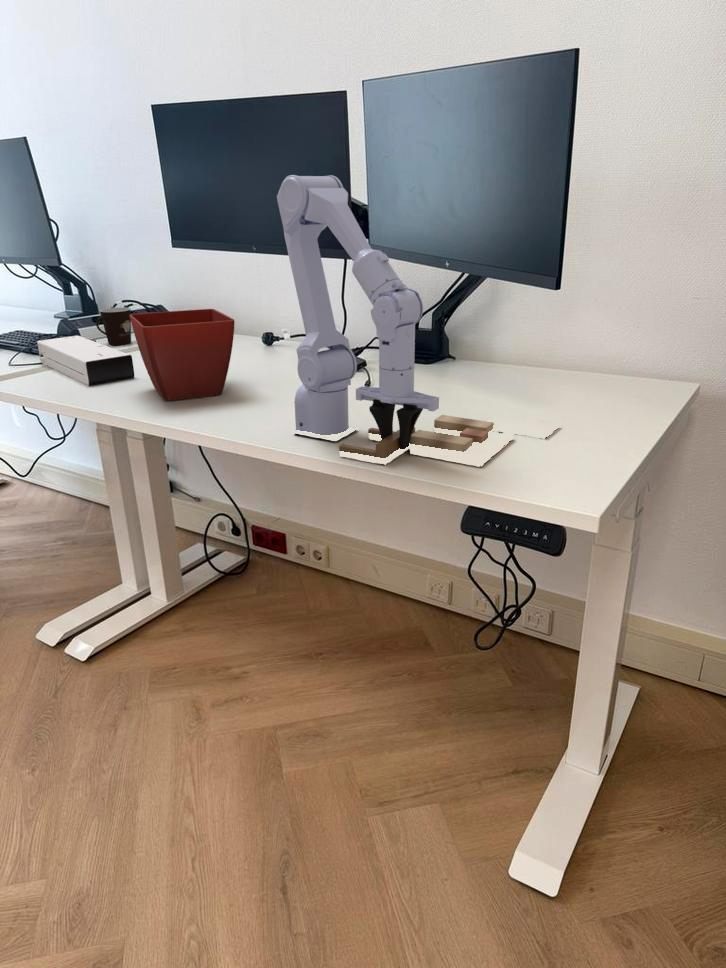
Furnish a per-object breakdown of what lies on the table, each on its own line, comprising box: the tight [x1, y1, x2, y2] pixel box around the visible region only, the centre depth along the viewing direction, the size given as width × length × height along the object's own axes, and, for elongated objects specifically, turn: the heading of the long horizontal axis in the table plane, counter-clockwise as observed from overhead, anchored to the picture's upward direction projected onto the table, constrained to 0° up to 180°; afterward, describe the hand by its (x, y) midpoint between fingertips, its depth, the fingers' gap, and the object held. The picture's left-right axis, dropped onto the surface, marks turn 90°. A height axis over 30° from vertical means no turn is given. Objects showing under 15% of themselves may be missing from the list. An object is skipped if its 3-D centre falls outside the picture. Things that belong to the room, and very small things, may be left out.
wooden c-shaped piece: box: [338, 426, 416, 458], centre depth 121 cm, size 9×11×4 cm
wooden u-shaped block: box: [410, 414, 494, 452], centre depth 123 cm, size 14×16×3 cm
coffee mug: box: [95, 307, 132, 347], centre depth 208 cm, size 12×9×10 cm
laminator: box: [36, 335, 135, 387], centre depth 178 cm, size 34×12×6 cm, turn 41°
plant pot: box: [130, 308, 235, 402], centre depth 156 cm, size 19×19×17 cm
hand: (395, 445), depth 120 cm, fingers open, 3 cm apart
